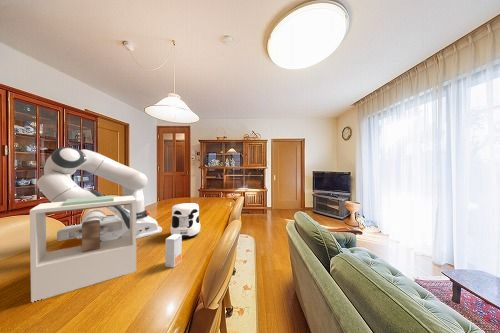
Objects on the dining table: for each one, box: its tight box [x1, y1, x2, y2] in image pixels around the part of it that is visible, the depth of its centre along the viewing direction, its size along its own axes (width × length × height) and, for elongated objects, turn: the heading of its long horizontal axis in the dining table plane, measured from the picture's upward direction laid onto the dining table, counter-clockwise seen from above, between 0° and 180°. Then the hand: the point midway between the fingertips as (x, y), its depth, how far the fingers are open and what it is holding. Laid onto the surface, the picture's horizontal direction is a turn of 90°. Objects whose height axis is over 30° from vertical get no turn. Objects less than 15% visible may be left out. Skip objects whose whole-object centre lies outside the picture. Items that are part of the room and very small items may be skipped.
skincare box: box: [164, 234, 183, 268], centre depth 82 cm, size 6×4×12 cm
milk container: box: [170, 202, 201, 239], centre depth 115 cm, size 17×17×18 cm
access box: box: [29, 195, 137, 303], centre depth 72 cm, size 28×12×30 cm, turn 127°
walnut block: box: [81, 220, 100, 253], centre depth 72 cm, size 5×5×10 cm
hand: (91, 234), depth 71 cm, fingers closed on walnut block, 5 cm apart
